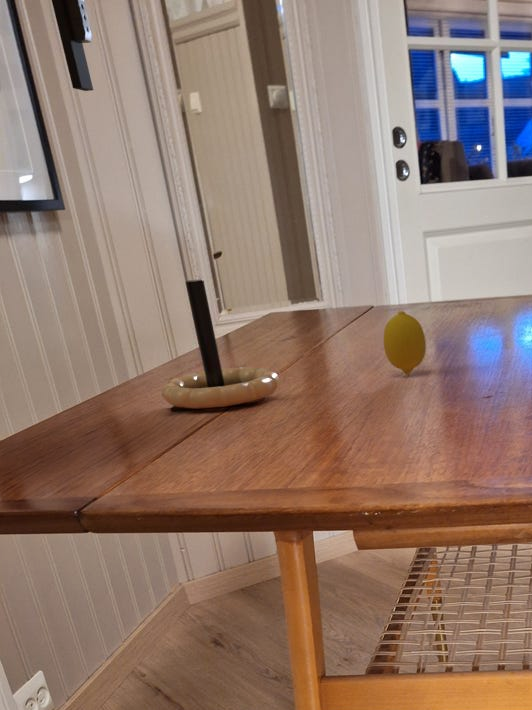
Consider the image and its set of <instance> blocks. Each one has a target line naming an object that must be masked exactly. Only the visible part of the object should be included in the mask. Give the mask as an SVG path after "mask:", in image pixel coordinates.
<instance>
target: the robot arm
mask: <svg viewBox="0 0 532 710" xmlns="http://www.w3.org/2000/svg"><path fill="white" fill-rule="evenodd" d="M51 4H52V8H53V12H54V16H55V20H56V24H57V29H58V32H59V37H60V40H61V45H62V49H63V53H64V56H65V61H66V66H67V69H68V74H69V77H70V82H71V86H72V89H75V90H79V91H82V92H83V91H84V92H90V91H94V86H93V82H92V78H91V73H90V69H89V65H88V61H87V57H86V51H85V48H84V44H88V43H92V30H91V27H90V22H89V17H88V12H87V9H86V5H85V0H51Z"/></svg>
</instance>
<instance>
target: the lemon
mask: <svg viewBox="0 0 532 710" xmlns="http://www.w3.org/2000/svg"><path fill="white" fill-rule="evenodd" d="M383 330H384V331H383V350H384V353H385V356H386V358H387V360H388V361H389V363H390V364H391V365H392V366H393V367H394V368H396V369H399V370H401V371H402V372H403V373H404V374H405V375H410V374H411V373H412V372H413V370H414V369H415V368H417V367H418V366H419V365H421V363H422V362H423V360H424V358H425V355H426V350H427V349H426V348H427V343H426V336H425V332H424V329H423V327H422V324H421V323H420V322H419V320H418V319H417V318H415V317H414V316H413V315H410V314H409V313H406V312H405V311H404V310H401V311H398V312H397V313H396V314H395V315H394V316H392V317H391V318H389V320H388V321H387V323H386V325H385V327H384V329H383Z"/></svg>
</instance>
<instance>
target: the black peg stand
mask: <svg viewBox="0 0 532 710" xmlns="http://www.w3.org/2000/svg"><path fill="white" fill-rule="evenodd" d="M185 287H186V291H187V292H186V293H187V296H188V301H189V306H190V311H191V315H192V319H193V324H194V325H193V326H194V329H195V334H196V338H197V343H198V347H199V352H200V358H201V362H202V367H203V372H205V376H206V381H207V386H208V388H209V387H222V386H225V383H224V378H223V373H222V369H223V368H222V364H221V359H220V354H219V349H218V344H217V339H216V335H215V330H214V324H213V320H212V315H211V310H210V306H209V305H210V304H209V300H208V295H207V291H206V285H205V281H204V279H199V278H198V279H189V280H186V281H185ZM265 399H266V397H263V398H260V399H258V400H255V401H252V402H246V403H241V404H236V405H230V406H225V407H211V408H183V407H175V406H173V405H172V406H171V407H170V412H171V413H175V412H176V413H177V412H187V411H188V412H189V411H203V410H215V409H216V410H217V409H218V410H219V409H229V408H230V409H231V408H245V407H246V408H247V407H249V406H250V405H251V404H253V403H256V402H257V403H258V402H263V401H264V400H265Z"/></svg>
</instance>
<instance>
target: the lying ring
mask: <svg viewBox="0 0 532 710" xmlns="http://www.w3.org/2000/svg"><path fill="white" fill-rule="evenodd" d="M222 373H223V378H224V383H225V386H222V387H209V388H208V386H207V381H206V376H205V372H204V371H200V372H194V373H190V374H187V375H184V376H179V377H177V378H174V379H171V380H170V381H169V382H168V383H166V384H165V385H164V386H163V387H162V389H161V392H160V393H161V397H162V399H163V400H164V401H165V402H167V403H168V404H170V405H171V406H172V407H173V406H175V407H183V408H211V407H225V406H230V405H236V404H241V403H246V402H252V401H255V400H258V399H260V398H263V397H265V398H266V397H270V396H271V395H273V394H274V392H275V391H276V390H277V389H278V388H279V386H280V381H281V380H280V377H279V375H278V374H277V373H276V372H274V371H271V370H269V369H266V368H262V367H233V368H232V367H231V368H222ZM252 403H253V402H252Z"/></svg>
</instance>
